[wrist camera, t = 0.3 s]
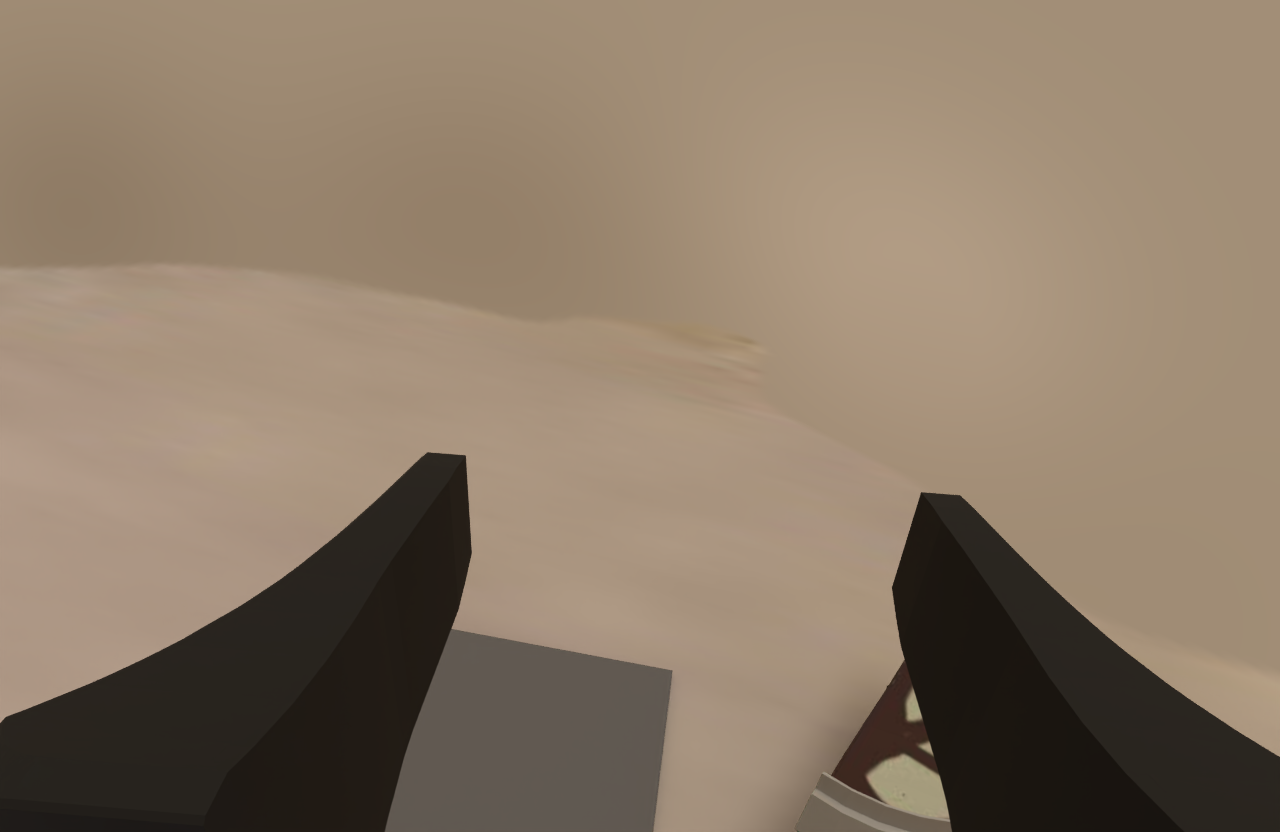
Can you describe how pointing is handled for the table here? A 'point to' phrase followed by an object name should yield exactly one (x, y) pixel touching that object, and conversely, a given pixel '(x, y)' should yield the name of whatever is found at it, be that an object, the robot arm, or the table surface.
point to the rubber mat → (533, 742)
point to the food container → (883, 774)
